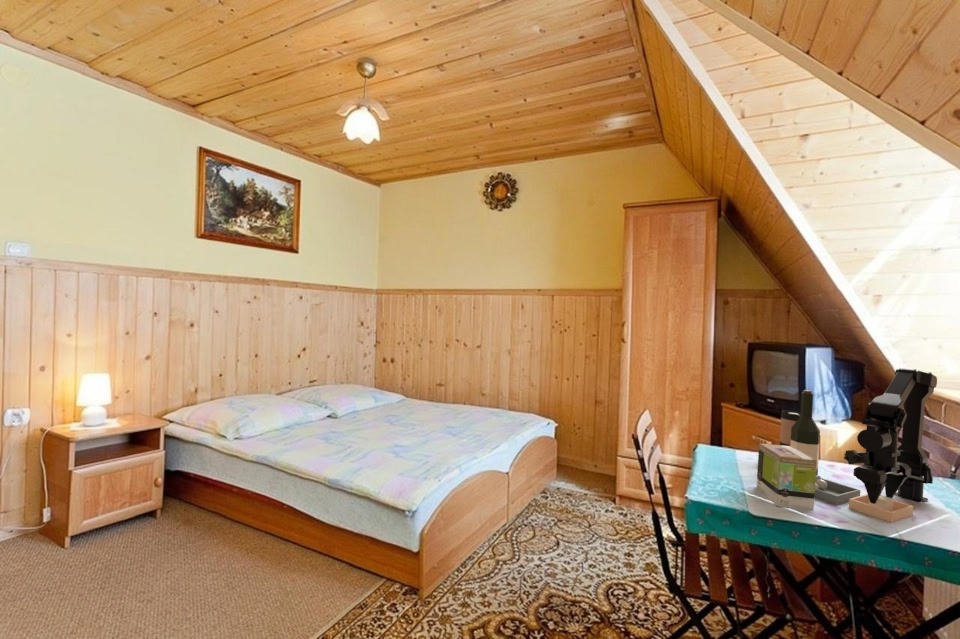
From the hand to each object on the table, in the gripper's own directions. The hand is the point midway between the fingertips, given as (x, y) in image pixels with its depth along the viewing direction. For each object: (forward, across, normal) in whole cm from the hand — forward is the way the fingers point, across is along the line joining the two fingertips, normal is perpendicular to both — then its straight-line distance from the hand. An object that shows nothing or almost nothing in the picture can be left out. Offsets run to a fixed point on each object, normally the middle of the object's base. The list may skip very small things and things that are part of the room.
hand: (880, 500), depth 131 cm
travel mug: (+4, -20, -35) cm, 40 cm away
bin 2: (+4, 0, 0) cm, 4 cm away
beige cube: (+3, 0, 0) cm, 3 cm away
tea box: (+4, +16, -17) cm, 24 cm away
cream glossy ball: (+3, -2, -16) cm, 17 cm away
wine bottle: (+4, -10, -26) cm, 28 cm away
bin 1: (+3, 0, -18) cm, 19 cm away
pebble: (+3, +3, -16) cm, 17 cm away
